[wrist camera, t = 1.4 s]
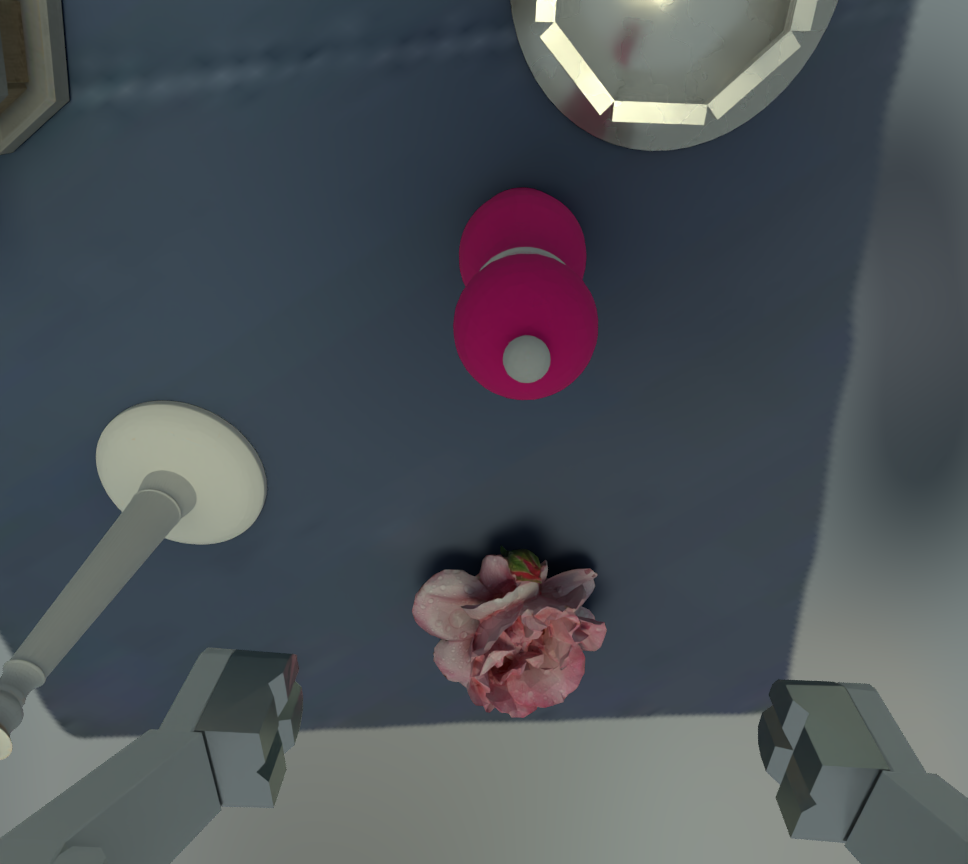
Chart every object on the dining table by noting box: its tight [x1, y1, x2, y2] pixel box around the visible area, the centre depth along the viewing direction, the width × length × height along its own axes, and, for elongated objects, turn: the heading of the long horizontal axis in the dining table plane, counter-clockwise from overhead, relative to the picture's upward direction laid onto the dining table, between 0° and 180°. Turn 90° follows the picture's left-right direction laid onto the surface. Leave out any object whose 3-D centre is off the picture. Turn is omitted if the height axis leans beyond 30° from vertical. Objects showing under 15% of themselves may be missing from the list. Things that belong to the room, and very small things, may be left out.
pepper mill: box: [453, 187, 598, 400], centre depth 32 cm, size 7×7×20 cm
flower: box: [412, 545, 607, 718], centre depth 51 cm, size 15×15×10 cm
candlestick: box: [0, 401, 267, 760], centre depth 38 cm, size 13×13×30 cm
